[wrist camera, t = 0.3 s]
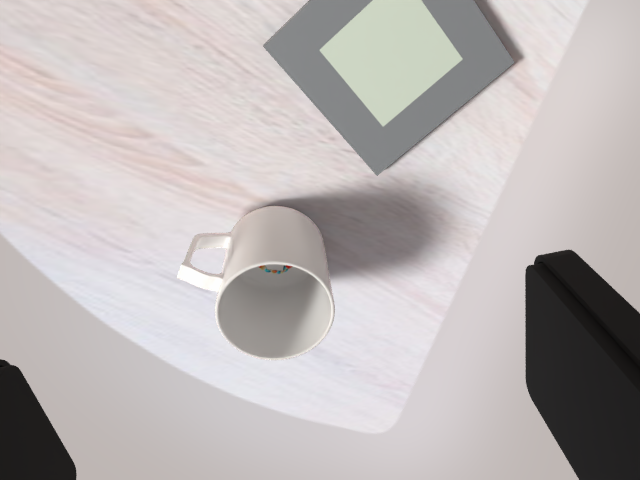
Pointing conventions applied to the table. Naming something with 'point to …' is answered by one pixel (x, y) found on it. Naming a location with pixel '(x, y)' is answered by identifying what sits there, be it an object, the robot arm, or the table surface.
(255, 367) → the table surface
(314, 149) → the table surface
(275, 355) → the mug
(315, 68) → the base board
